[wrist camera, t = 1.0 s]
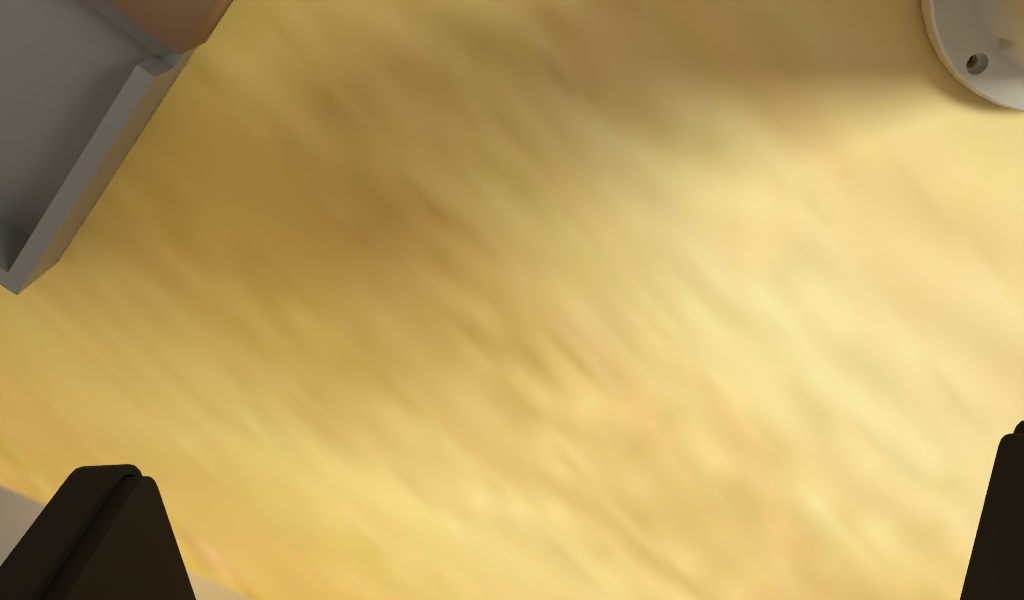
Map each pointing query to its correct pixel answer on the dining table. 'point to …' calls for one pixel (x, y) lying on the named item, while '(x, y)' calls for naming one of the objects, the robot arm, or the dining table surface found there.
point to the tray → (67, 119)
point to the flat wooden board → (176, 19)
